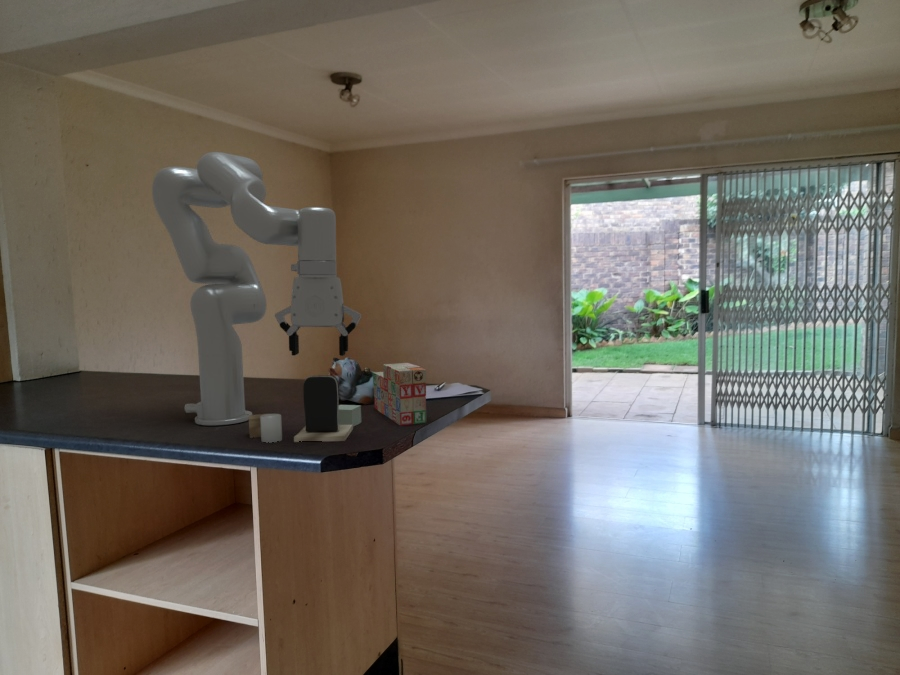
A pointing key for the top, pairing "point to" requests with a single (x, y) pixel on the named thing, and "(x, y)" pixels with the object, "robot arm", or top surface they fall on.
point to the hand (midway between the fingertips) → (318, 354)
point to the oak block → (255, 425)
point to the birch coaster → (324, 434)
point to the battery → (321, 403)
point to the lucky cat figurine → (353, 381)
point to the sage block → (349, 414)
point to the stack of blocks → (401, 393)
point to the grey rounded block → (271, 428)
